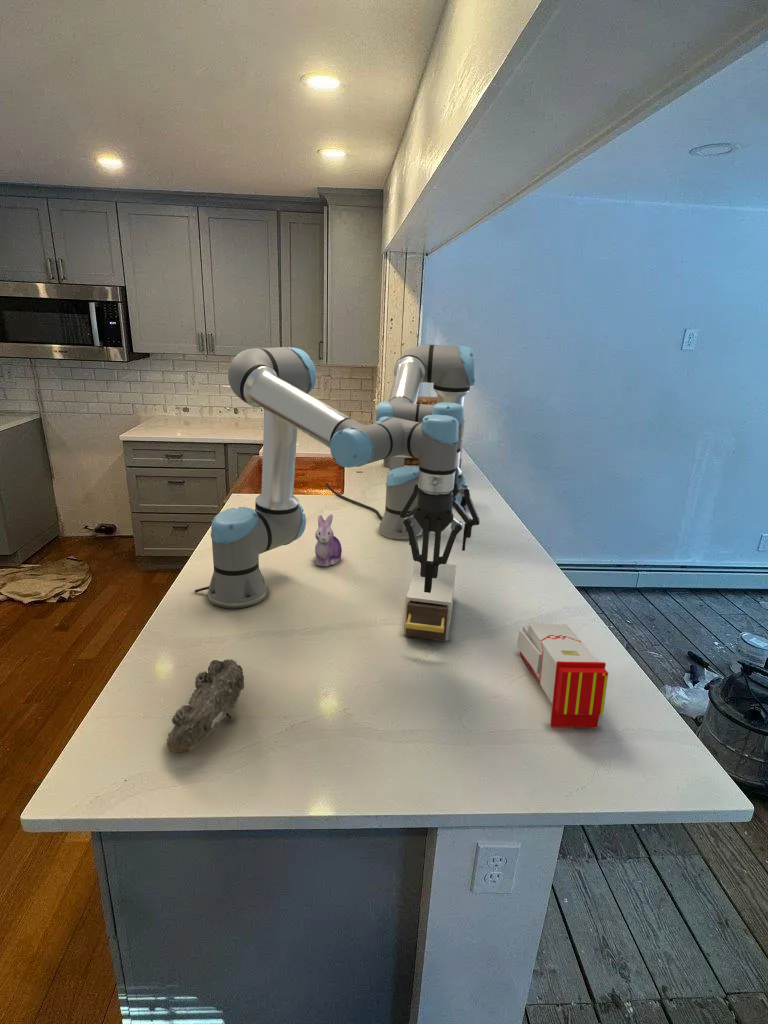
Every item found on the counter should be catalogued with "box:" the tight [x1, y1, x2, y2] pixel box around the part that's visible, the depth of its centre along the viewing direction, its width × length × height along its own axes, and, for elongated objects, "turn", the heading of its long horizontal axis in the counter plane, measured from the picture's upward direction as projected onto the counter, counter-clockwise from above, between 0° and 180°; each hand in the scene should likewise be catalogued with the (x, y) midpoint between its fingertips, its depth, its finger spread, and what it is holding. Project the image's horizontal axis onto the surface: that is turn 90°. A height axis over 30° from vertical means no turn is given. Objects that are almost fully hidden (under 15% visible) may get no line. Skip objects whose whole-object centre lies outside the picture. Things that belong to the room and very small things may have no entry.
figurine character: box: [460, 484, 468, 511], centre depth 229 cm, size 7×8×15 cm
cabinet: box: [403, 561, 457, 642], centre depth 145 cm, size 21×11×10 cm, turn 170°
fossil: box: [166, 658, 245, 754], centre depth 106 cm, size 22×10×15 cm
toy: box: [516, 623, 609, 728], centre depth 121 cm, size 12×13×30 cm
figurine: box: [314, 513, 343, 567], centre depth 173 cm, size 9×10×15 cm
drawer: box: [404, 601, 448, 642], centre depth 140 cm, size 26×10×8 cm, turn 170°
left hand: (427, 589), depth 127 cm, fingers closed
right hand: (437, 546), depth 147 cm, fingers open, 13 cm apart
